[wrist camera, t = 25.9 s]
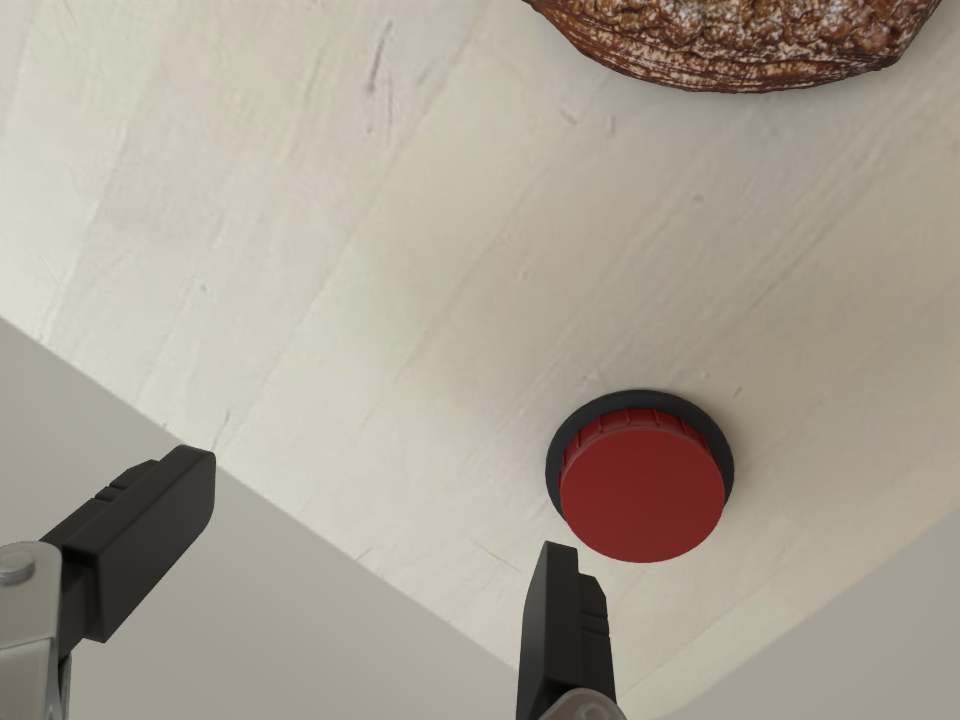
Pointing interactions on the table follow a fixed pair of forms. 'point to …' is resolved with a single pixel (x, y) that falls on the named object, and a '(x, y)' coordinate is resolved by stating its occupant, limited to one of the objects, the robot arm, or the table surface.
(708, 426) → the coaster
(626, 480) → the jar lid
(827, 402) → the table surface
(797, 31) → the pastry
